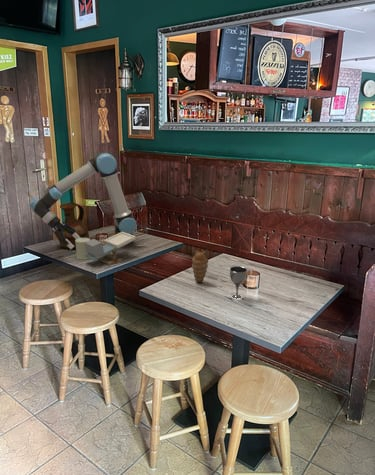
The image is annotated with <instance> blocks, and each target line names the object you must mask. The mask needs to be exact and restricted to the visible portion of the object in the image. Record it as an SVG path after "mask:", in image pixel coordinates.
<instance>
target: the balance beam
mask: <svg viewBox="0 0 375 475" xmlns="http://www.w3.org/2000/svg"><path fill="white" fill-rule="evenodd" d="M135 240H137V238H136V235H134V234H133V235H130V234H128V233H125V232H120V233H118V234H116V235H114V234H113V235H111V236H110V237H108V238H106V239H104V244H103V242H102V241H99V240H97V239H95V238H92V239H90V241H88V242H86V243H85V245H86V248H87V252H88V253H86V254H85V257H87V258H89V259H88V260H91V261H93V262H95V261H98V260H97V259H99V258H101V257H103V256H105V255H107V254H109V253H111V254H112V250H116V251H117V250H119V249H121V248H122V247H125V246H126V245H130V244H129V243H131V242H133V241H134V242H135ZM134 242H133V243H134ZM131 244H132V243H131ZM102 245H103V246H102Z"/></svg>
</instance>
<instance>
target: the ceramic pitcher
mask: <svg viewBox="0 0 375 475" xmlns="http://www.w3.org/2000/svg"><path fill="white" fill-rule="evenodd" d="M76 207H77V208H78V217H76V216H75V213H74V212H75V211H74V210H75V208H76ZM59 208H60V209H61V210H62V211H63V214H64V215H63V216H64V217H65V219H64V221H63V222H64V223H65V224H67V225H69V226H70V227H72V228H73V229H75V230H76V232H75V233H76V234H77V235H78V236H79V237H81V238H89V239H90V234H89V231H88V228H87V227H86V226H85V224H84V223H83V219H84V215H85V210H84V207H83V206H82V205H81V204H79V203H76V202H66V203H62V204H60V205H59ZM64 226H65V225H64ZM62 232H63V234H64V237H65V239H67V240H68V241H69V242H70V243H71V244H72V245H74V247H73V248H72V249H74V248H75V249H76V243H75V240H76V239H75V238H74V237H73V236H72V234H70V233H68V232H65V231H62ZM59 244H60V246H61V247H63V248H66V249H70V248H69V247H68V246H67V245H66V244H65V243H64V242H62V243H61V242H59Z"/></svg>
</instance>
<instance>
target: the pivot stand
mask: <svg viewBox="0 0 375 475" xmlns="http://www.w3.org/2000/svg"><path fill="white" fill-rule="evenodd" d="M103 245H104V244H102V246H103ZM96 261H100V262H102V263H103V264H106V265H108V266H113V265H115V264H119V263H122V262H124V259H123V258H121V257H119V256H117V250H112V252H111V253H109V254H107V255H105V256H103V257H101V258H99V259H97V260H96Z"/></svg>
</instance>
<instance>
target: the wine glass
mask: <svg viewBox="0 0 375 475" xmlns="http://www.w3.org/2000/svg"><path fill="white" fill-rule="evenodd" d="M247 272H248V271H247V267H244V266H238V265H235V266H231V267H230V269H229V276H230V281H231V282H232V284H234V286H235V289H236V290H235V291H236V292H235V294H236V295H233V294H232V295H233V296H232V297H233V298H236V299H237V298H241V296H240V295H241V294H239V288H240V286H241V285H242V284H243V283H244V282H245V281H246V277H247ZM238 294H239V295H238Z"/></svg>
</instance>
